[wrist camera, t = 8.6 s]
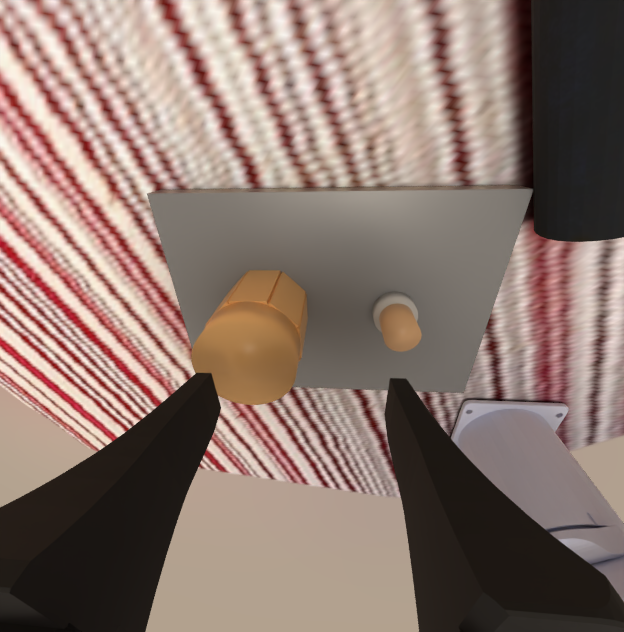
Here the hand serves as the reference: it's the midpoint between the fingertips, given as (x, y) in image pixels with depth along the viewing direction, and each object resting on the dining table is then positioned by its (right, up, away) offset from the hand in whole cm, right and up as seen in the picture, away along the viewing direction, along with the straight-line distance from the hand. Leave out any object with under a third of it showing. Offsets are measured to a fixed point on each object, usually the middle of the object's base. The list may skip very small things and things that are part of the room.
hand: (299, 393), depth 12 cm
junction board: (+2, +4, +8) cm, 9 cm away
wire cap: (-2, +4, +7) cm, 8 cm away
